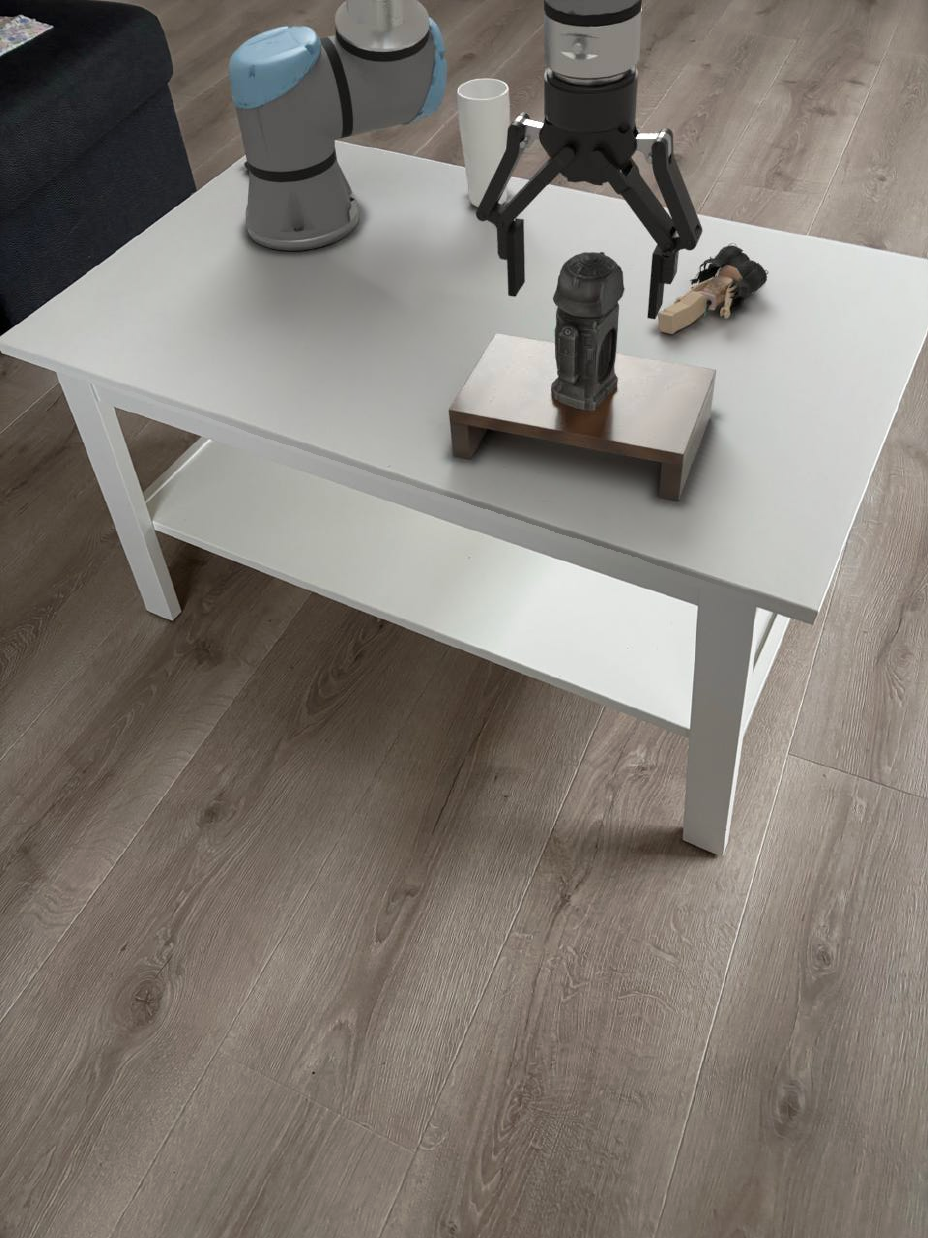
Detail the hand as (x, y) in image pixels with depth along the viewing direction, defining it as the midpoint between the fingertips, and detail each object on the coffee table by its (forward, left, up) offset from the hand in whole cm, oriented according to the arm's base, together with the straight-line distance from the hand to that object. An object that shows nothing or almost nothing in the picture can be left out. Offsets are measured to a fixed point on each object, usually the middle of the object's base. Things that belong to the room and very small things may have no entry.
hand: (584, 299), depth 103 cm
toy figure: (-2, +28, -16) cm, 32 cm away
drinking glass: (-41, +33, -16) cm, 55 cm away
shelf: (0, 0, -16) cm, 16 cm away
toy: (0, 0, -10) cm, 10 cm away
